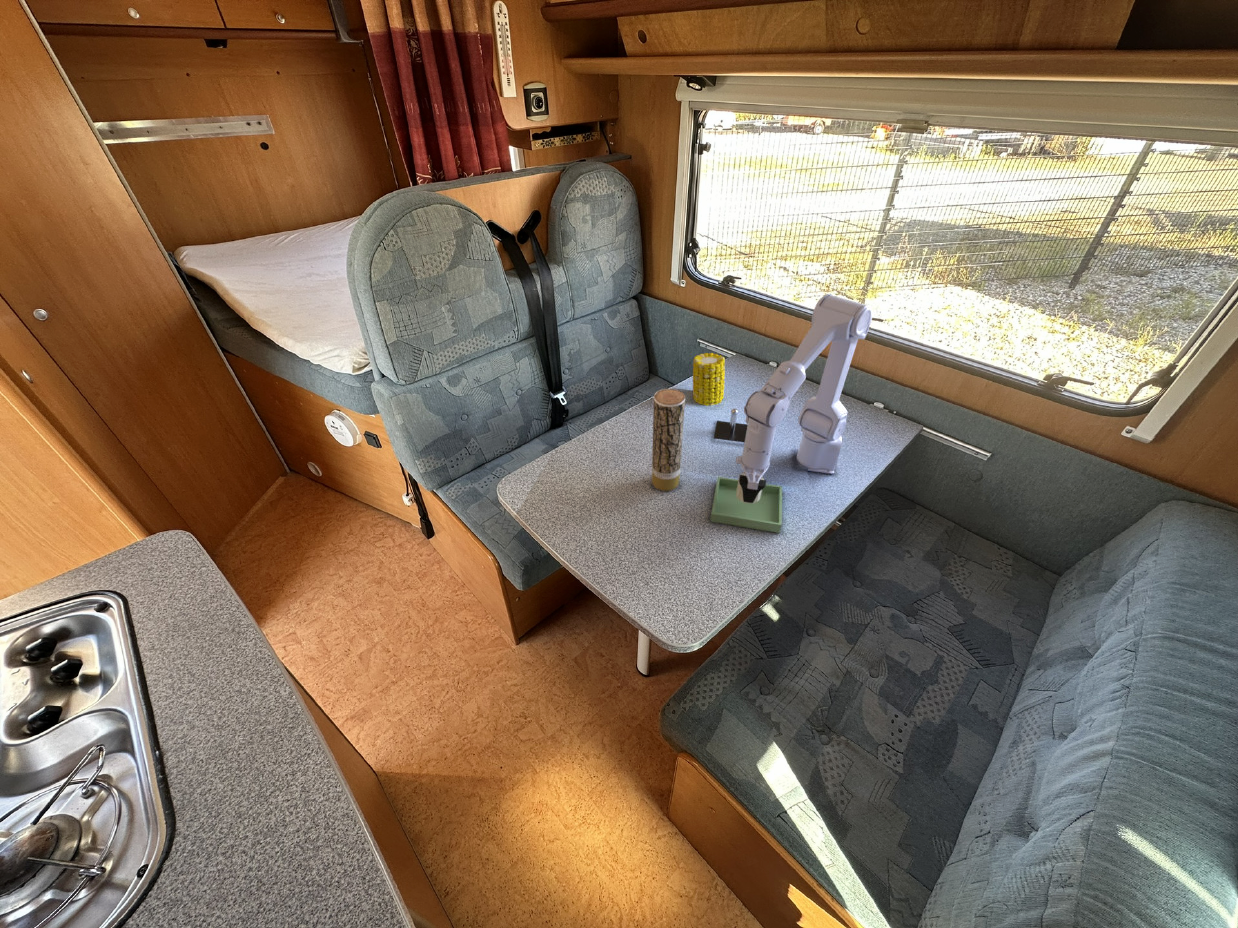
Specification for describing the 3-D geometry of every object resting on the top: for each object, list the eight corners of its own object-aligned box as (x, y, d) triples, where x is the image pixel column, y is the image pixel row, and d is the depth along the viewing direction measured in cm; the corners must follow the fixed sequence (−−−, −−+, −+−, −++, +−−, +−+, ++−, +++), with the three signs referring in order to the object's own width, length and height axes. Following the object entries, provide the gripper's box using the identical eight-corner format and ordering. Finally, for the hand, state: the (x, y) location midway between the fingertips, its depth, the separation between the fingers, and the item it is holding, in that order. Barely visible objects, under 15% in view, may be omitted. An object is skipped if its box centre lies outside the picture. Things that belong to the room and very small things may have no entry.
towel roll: (760, 489, 114) (764, 473, 111) (759, 505, 110) (763, 488, 107) (737, 486, 115) (739, 469, 112) (735, 501, 111) (738, 484, 108)
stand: (748, 427, 141) (752, 402, 135) (746, 445, 134) (750, 420, 129) (716, 423, 142) (719, 398, 137) (713, 441, 136) (716, 416, 131)
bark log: (677, 493, 119) (683, 406, 104) (649, 490, 120) (651, 403, 105) (680, 476, 124) (686, 390, 109) (653, 473, 126) (656, 387, 110)
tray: (780, 493, 118) (782, 486, 117) (779, 533, 109) (781, 525, 107) (716, 484, 122) (717, 476, 120) (710, 521, 112) (711, 513, 110)
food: (705, 415, 149) (687, 401, 156) (737, 398, 151) (717, 385, 158) (698, 373, 139) (679, 360, 146) (732, 355, 141) (711, 343, 148)
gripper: (741, 423, 110) (733, 470, 118) (736, 462, 99) (728, 511, 108) (774, 427, 108) (764, 474, 117) (772, 467, 98) (761, 516, 106)
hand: (749, 492), depth 112 cm, fingers closed on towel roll, 5 cm apart
